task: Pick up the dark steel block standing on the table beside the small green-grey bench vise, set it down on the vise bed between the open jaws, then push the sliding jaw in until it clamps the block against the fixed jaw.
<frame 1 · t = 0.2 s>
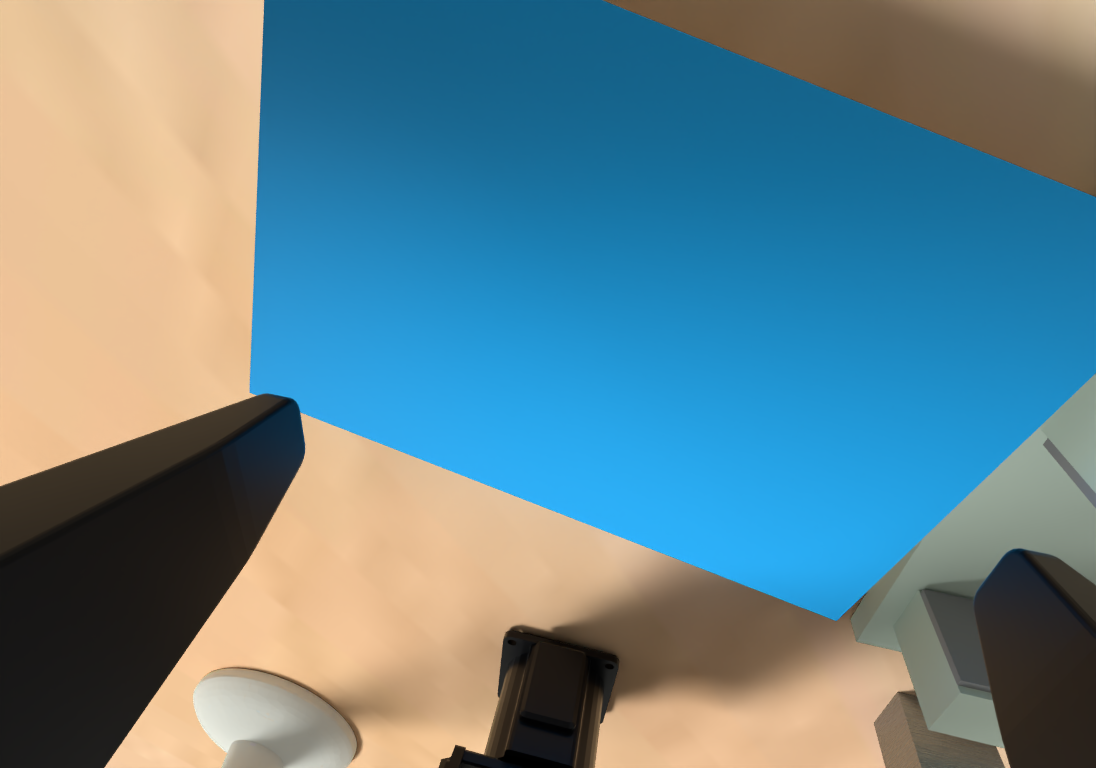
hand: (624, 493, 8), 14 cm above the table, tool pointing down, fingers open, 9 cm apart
book: (630, 293, 22), on the table, touching vise
candlestick: (279, 717, 45), on the table
vise: (1060, 542, 23), on the table
block: (925, 717, 31), on the table
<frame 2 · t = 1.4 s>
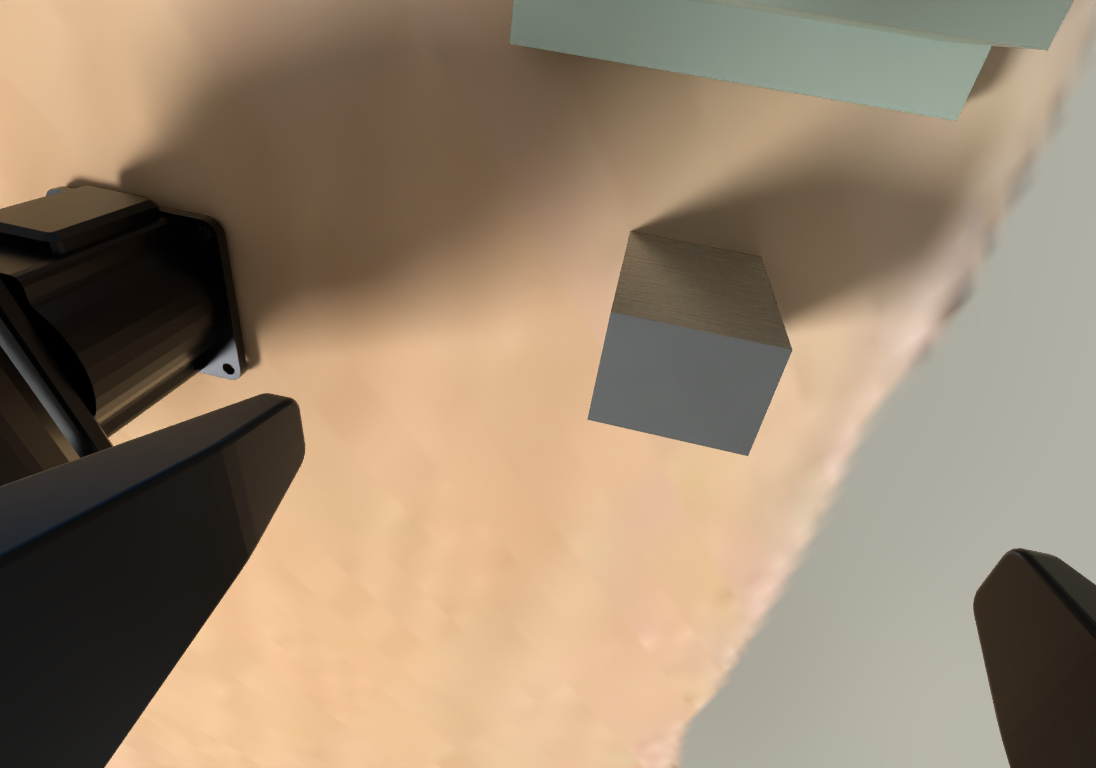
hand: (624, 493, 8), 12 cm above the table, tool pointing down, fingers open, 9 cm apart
block: (682, 289, 19), on the table
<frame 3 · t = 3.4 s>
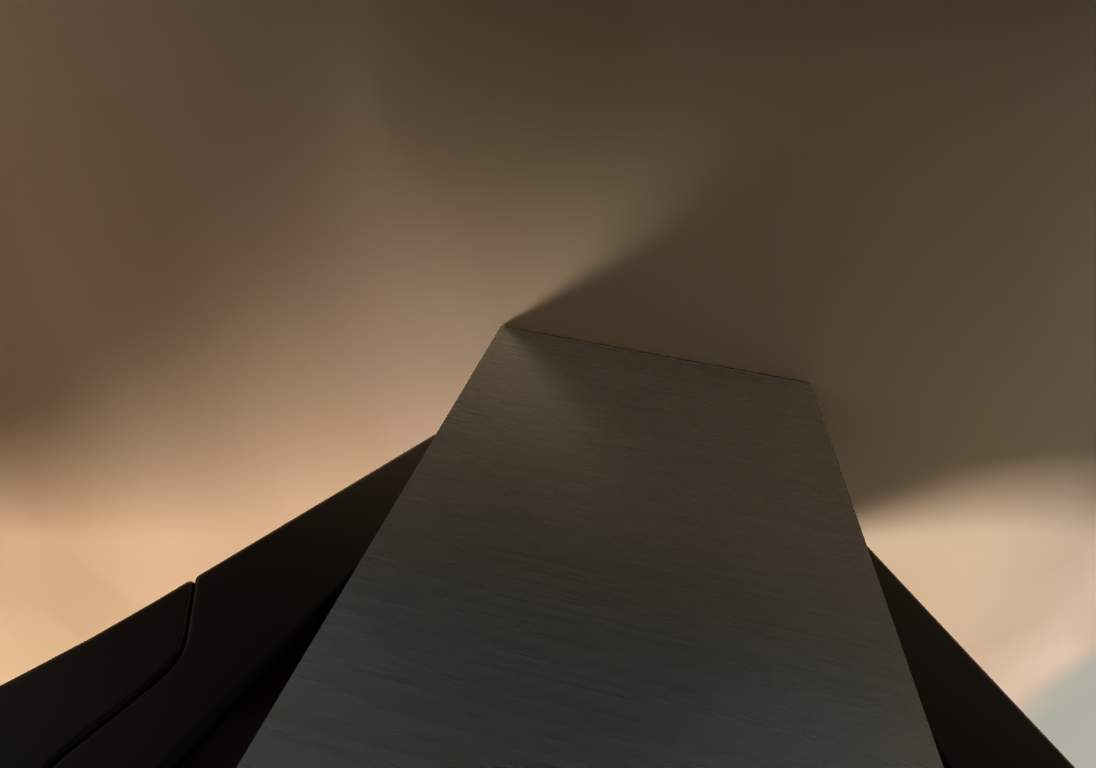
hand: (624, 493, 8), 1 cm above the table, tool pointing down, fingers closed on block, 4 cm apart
block: (630, 444, 8), on the table, touching gripper
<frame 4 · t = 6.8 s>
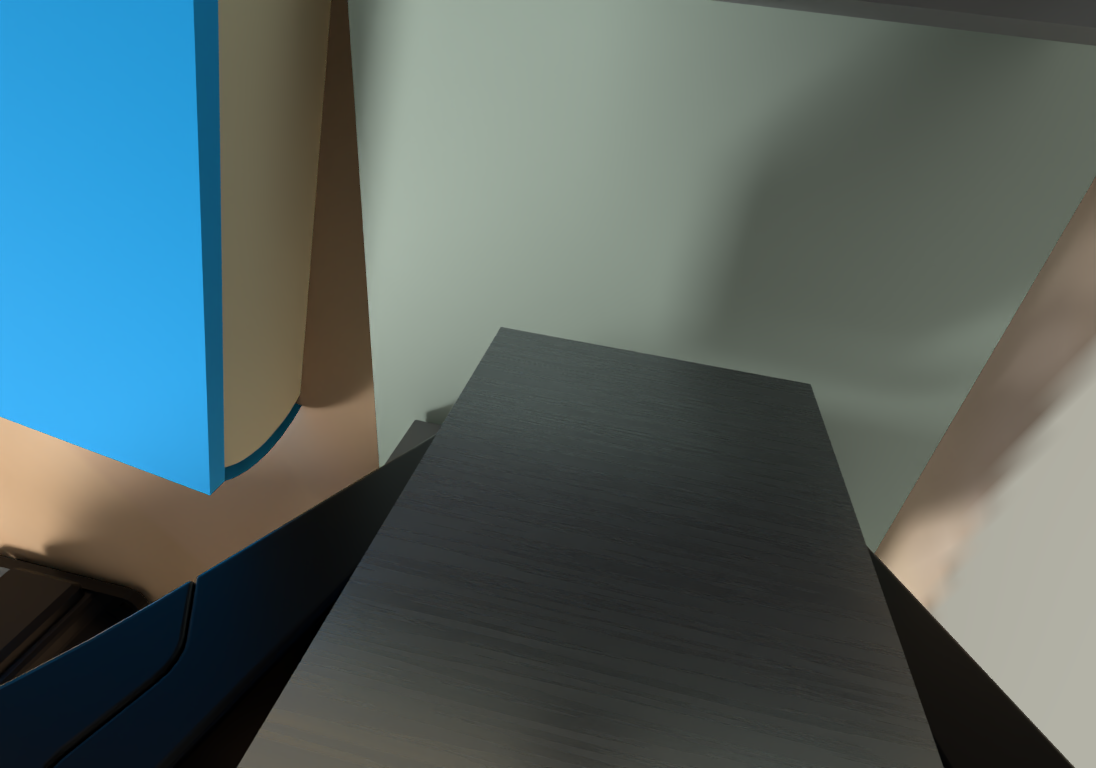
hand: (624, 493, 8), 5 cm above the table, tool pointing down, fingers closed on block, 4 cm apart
vise: (651, 316, 12), on the table
block: (630, 445, 8), point 4 cm above the table, touching gripper
when the fingers open (3 cm above the table, at t = 7.5 s): block stays where it is, resting on vise.
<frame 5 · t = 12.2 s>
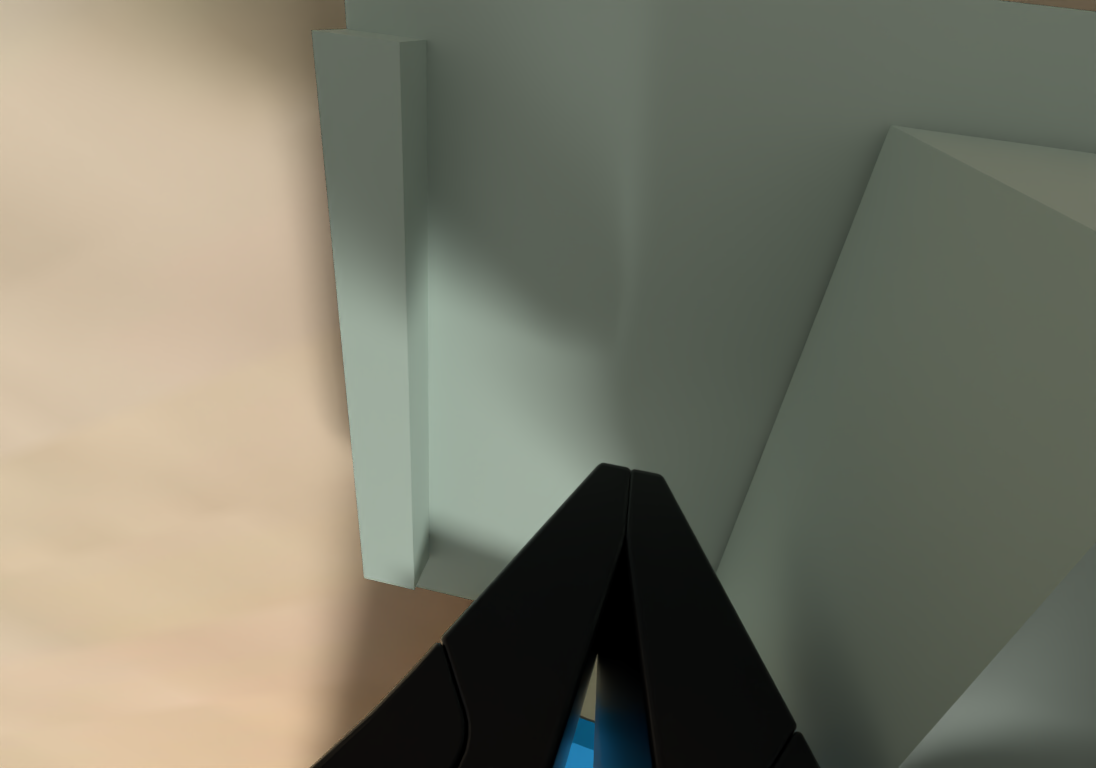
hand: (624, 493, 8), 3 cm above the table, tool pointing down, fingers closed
jaw: (943, 639, 6), point 4 cm above the table, slide at 1.4 cm, touching gripper
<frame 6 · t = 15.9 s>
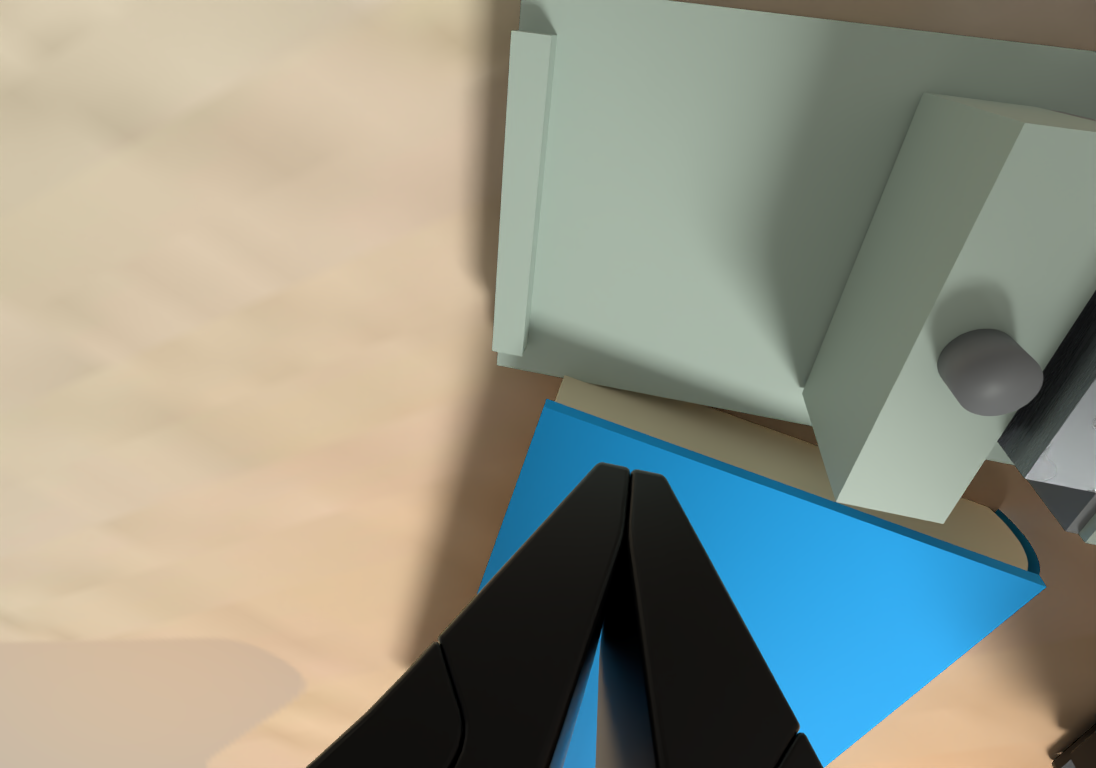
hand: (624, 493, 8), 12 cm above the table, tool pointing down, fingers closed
book: (655, 617, 28), on the table, touching vise
vise: (953, 266, 17), on the table
jaw: (947, 319, 14), point 4 cm above the table, slide at 5.0 cm
block: (1016, 290, 16), point 1 cm above the table, touching vise
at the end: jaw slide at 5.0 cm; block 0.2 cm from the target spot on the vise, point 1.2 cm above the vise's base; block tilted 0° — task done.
